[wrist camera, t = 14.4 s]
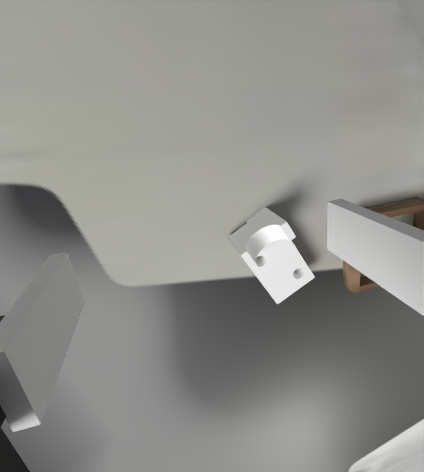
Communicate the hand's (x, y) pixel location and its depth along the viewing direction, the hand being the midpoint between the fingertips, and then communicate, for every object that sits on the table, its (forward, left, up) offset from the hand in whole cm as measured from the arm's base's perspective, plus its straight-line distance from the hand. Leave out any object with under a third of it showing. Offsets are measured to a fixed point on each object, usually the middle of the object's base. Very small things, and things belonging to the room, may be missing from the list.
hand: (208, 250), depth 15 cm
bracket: (+15, +13, -27) cm, 33 cm away
